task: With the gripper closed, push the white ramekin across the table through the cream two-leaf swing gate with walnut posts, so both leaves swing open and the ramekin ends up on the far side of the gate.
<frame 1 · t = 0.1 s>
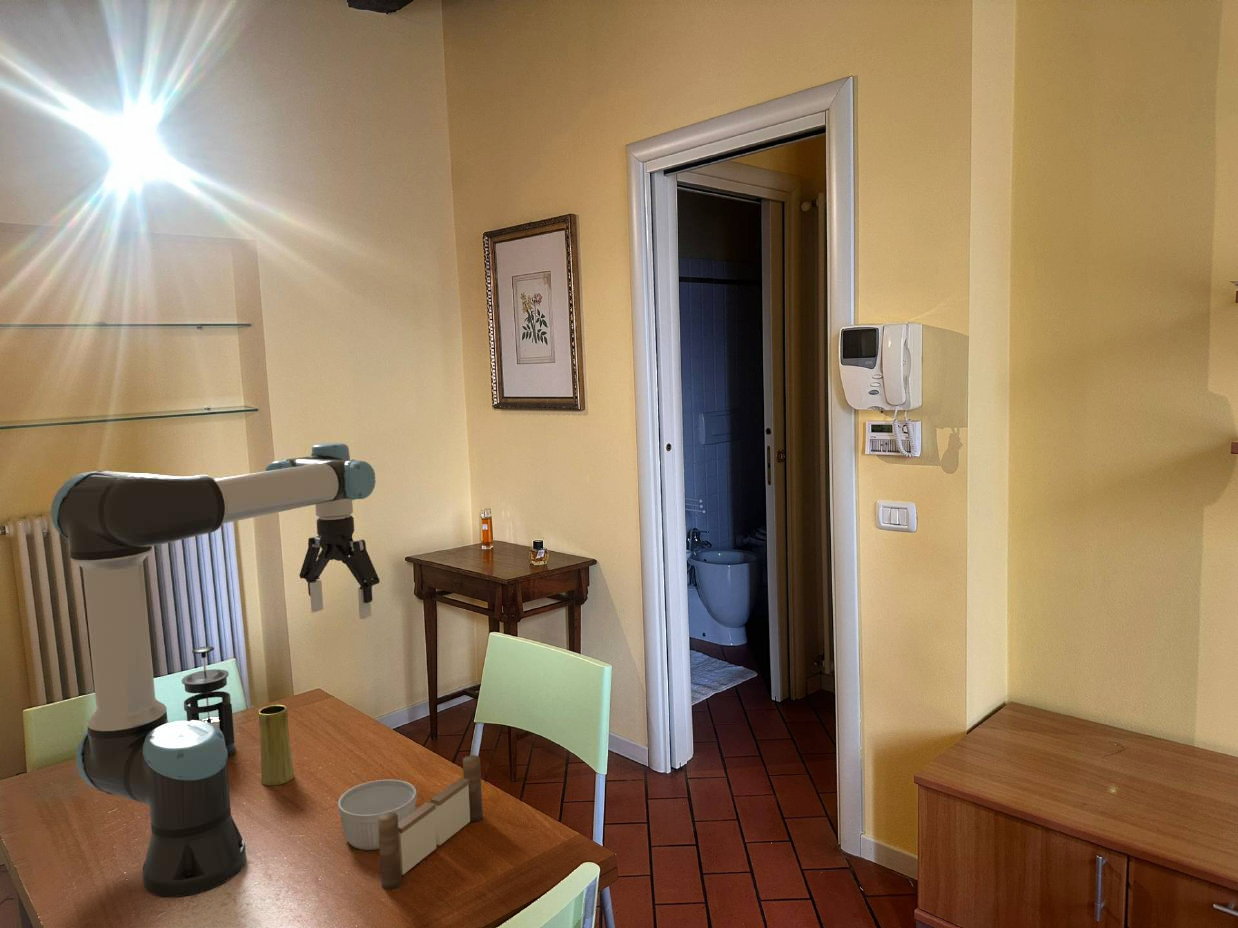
hand: (341, 614, 191), 28 cm above the table, tool pointing down, fingers open, 13 cm apart
left leaf: (415, 837, 145), point 4 cm above the table, hinge at 0.0°
ramekin: (379, 835, 155), on the table
right leaf: (451, 810, 153), point 4 cm above the table, hinge at 0.0°
vase: (277, 779, 176), on the table
gate posts: (435, 848, 149), on the table
french press: (213, 754, 189), on the table
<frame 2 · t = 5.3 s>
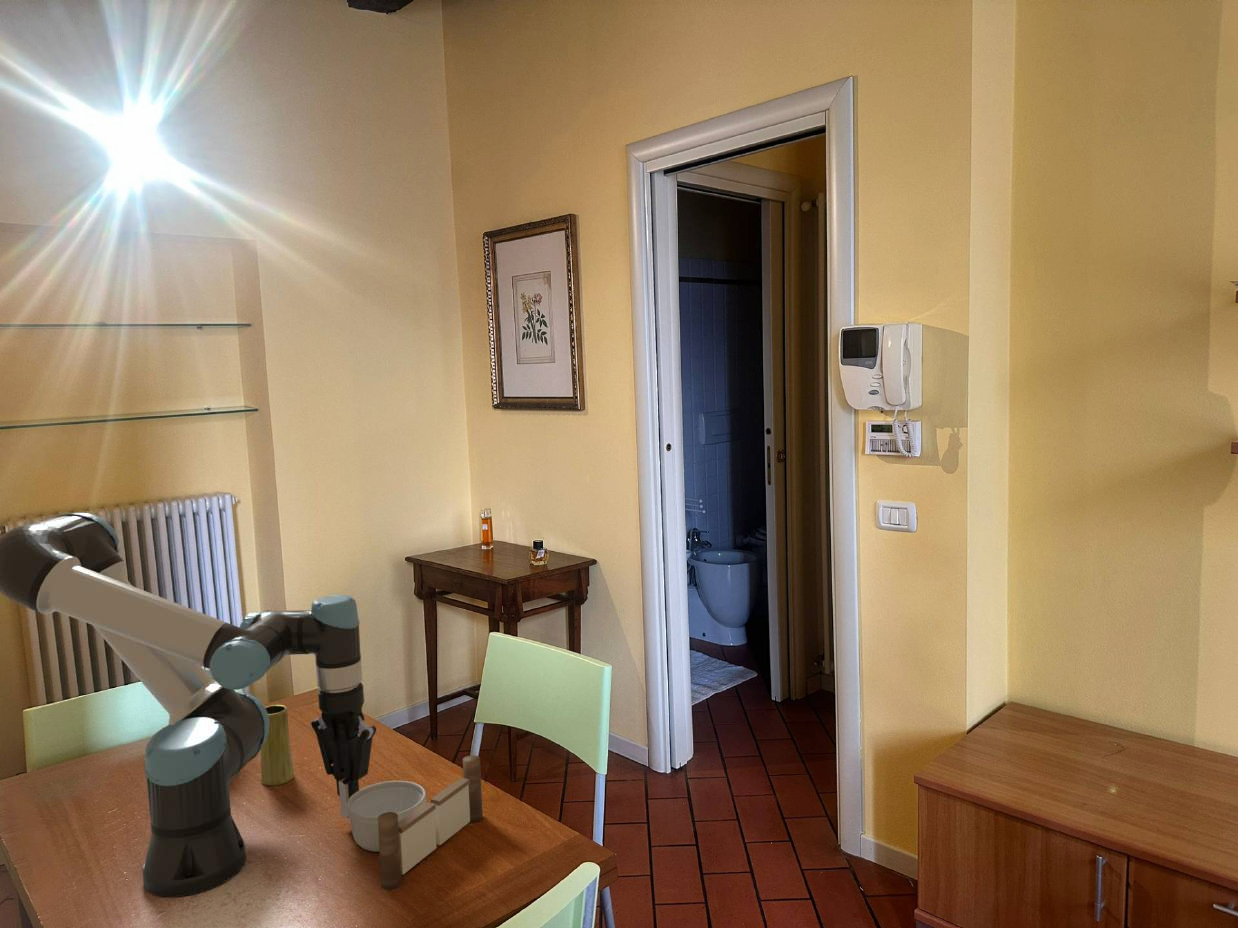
hand: (349, 813, 158), 2 cm above the table, tool pointing down, fingers closed
ramekin: (388, 836, 154), on the table, touching gripper
everything else where it was.
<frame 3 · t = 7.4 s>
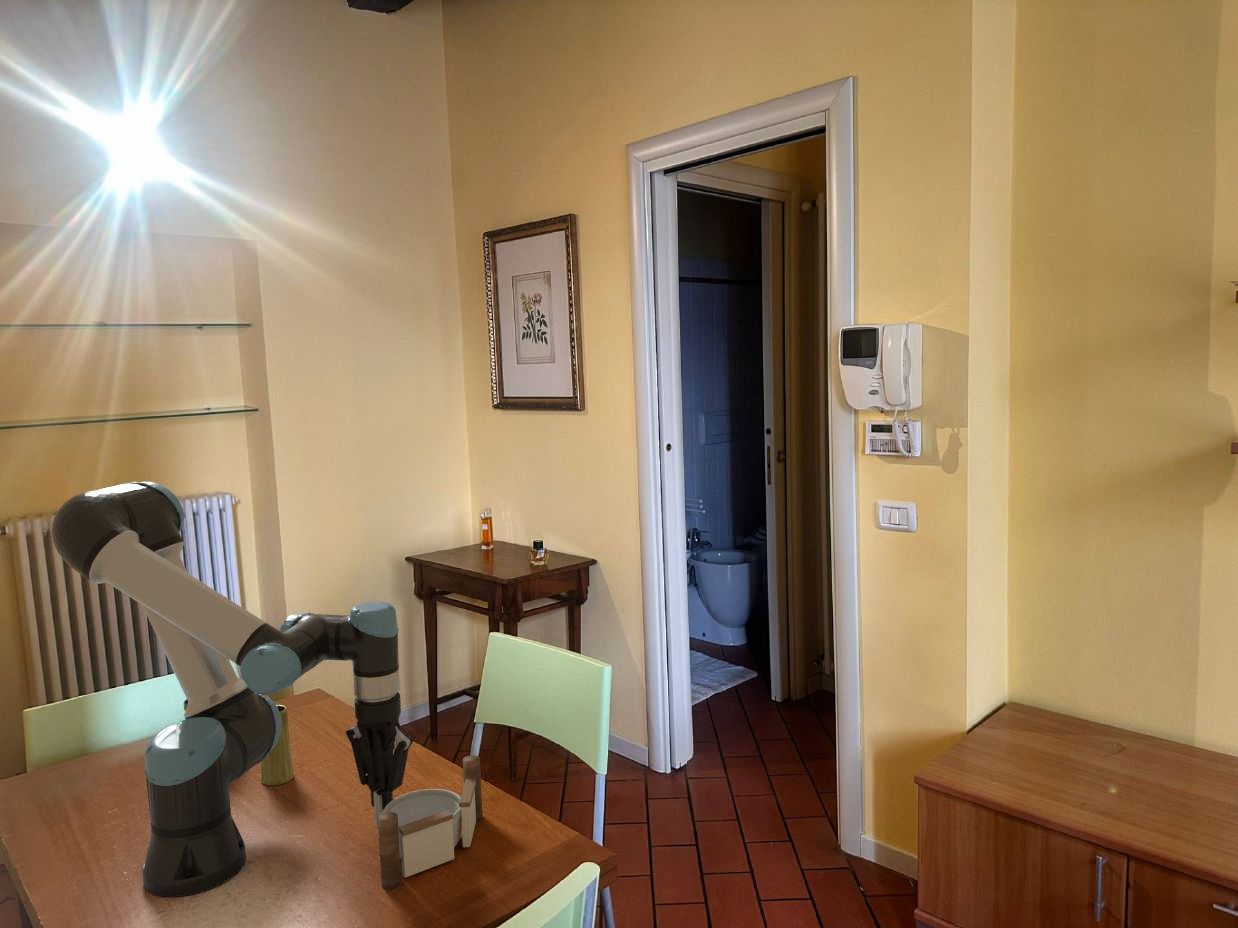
hand: (383, 824, 154), 2 cm above the table, tool pointing down, fingers closed
left leaf: (427, 843, 143), point 4 cm above the table, hinge at 27.3°, touching ramekin
ramekin: (425, 846, 151), on the table, touching gripper, left leaf, right leaf
right leaf: (468, 811, 152), point 4 cm above the table, hinge at 28.8°, touching ramekin
everything else where it was.
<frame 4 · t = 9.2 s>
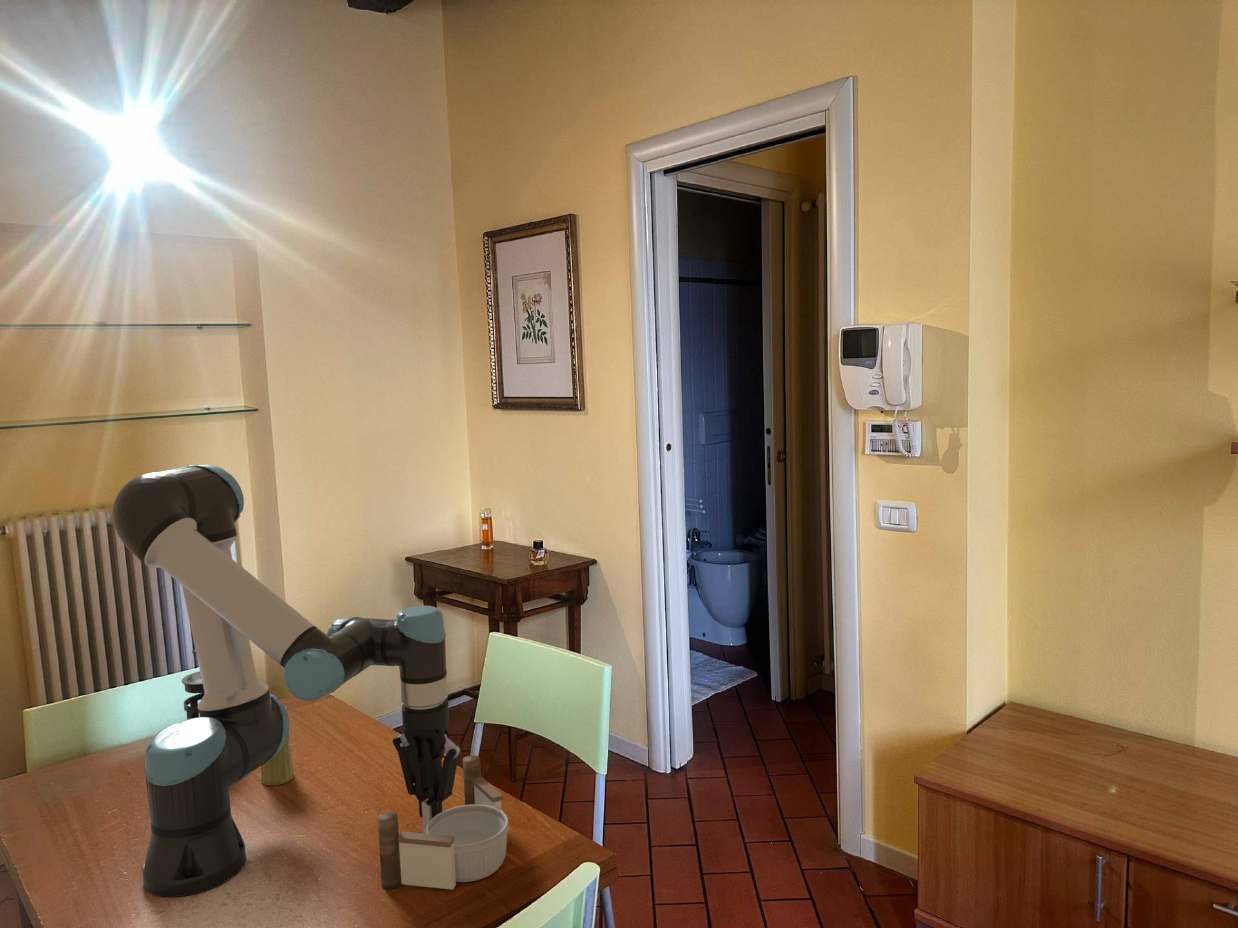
hand: (432, 835, 150), 2 cm above the table, tool pointing down, fingers closed
left leaf: (427, 860, 138), point 4 cm above the table, hinge at 75.8°, touching ramekin
ramekin: (469, 865, 145), on the table, touching gripper, left leaf
right leaf: (488, 808, 153), point 4 cm above the table, hinge at 59.6°
everything else where it was.
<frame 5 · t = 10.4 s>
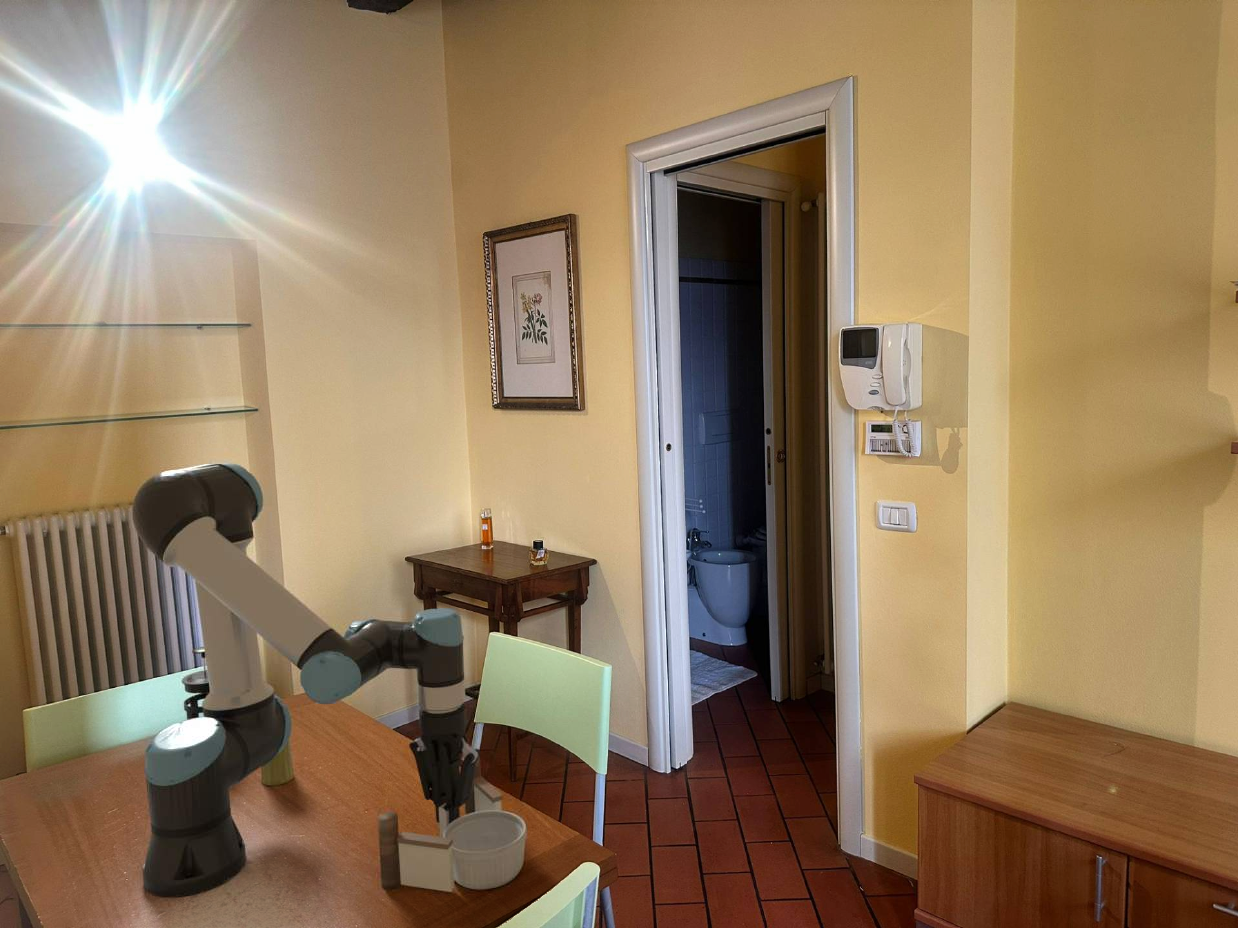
hand: (449, 841, 148), 2 cm above the table, tool pointing down, fingers closed
left leaf: (426, 861, 137), point 4 cm above the table, hinge at 79.4°
ramekin: (486, 871, 142), on the table, touching gripper
everything else where it was.
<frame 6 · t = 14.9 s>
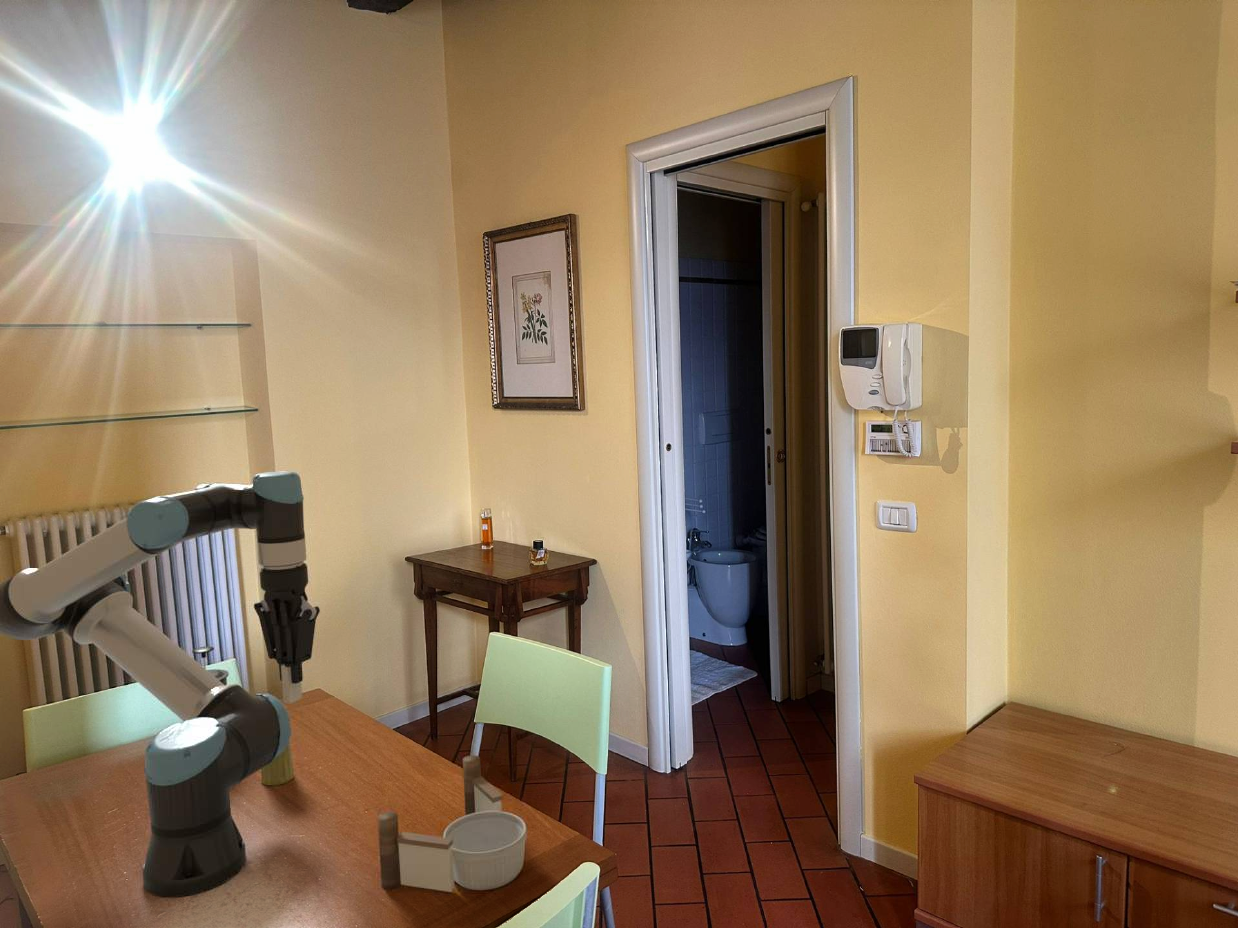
hand: (292, 699, 152), 24 cm above the table, tool pointing down, fingers closed
ramekin: (486, 872, 142), on the table
everything else where it was.
at the end: ramekin inside the target area (2.0 cm from its centre), on the table; left leaf at +79° (first picture: +0°); right leaf at +60° (first picture: +0°) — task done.
